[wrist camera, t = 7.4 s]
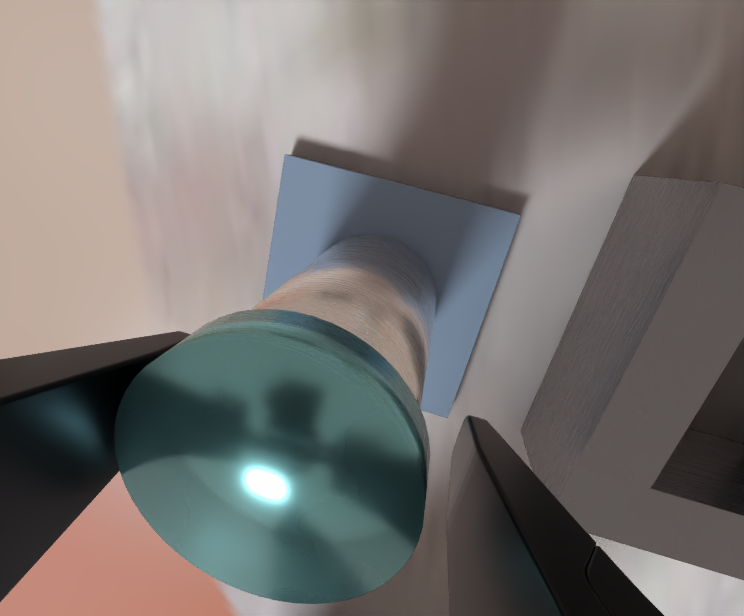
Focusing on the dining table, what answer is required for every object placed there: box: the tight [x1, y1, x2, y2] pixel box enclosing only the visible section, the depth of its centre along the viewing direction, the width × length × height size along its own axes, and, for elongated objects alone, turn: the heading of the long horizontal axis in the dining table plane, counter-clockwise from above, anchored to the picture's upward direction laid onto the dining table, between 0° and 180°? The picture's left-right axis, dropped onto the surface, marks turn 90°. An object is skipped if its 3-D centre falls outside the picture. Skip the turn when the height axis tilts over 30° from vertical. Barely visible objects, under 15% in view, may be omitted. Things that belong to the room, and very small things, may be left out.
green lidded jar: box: [114, 234, 437, 604], centre depth 11 cm, size 5×5×9 cm
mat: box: [263, 155, 521, 418], centre depth 16 cm, size 8×8×1 cm
